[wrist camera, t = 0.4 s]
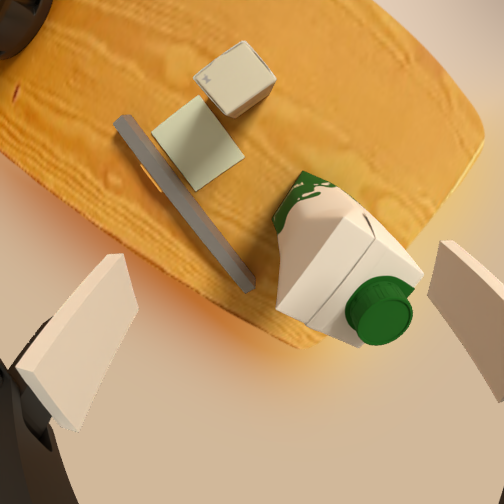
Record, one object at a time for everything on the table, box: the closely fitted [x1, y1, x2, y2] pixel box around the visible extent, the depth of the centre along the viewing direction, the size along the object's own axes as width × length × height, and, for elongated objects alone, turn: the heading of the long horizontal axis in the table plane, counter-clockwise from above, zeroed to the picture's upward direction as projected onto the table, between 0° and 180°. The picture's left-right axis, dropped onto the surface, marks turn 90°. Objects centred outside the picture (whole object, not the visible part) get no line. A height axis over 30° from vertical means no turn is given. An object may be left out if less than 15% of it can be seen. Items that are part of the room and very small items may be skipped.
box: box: [193, 41, 277, 119], centre depth 24 cm, size 5×4×11 cm
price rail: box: [113, 115, 256, 294], centre depth 33 cm, size 26×2×2 cm, turn 34°
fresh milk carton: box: [272, 171, 424, 348], centre depth 26 cm, size 9×9×20 cm
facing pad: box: [151, 95, 245, 191], centre depth 31 cm, size 9×7×1 cm
